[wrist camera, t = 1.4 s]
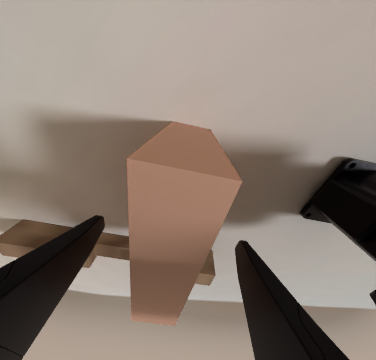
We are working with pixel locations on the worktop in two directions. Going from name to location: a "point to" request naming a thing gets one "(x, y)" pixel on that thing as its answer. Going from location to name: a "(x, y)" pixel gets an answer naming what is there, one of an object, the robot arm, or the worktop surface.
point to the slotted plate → (174, 216)
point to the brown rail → (106, 246)
